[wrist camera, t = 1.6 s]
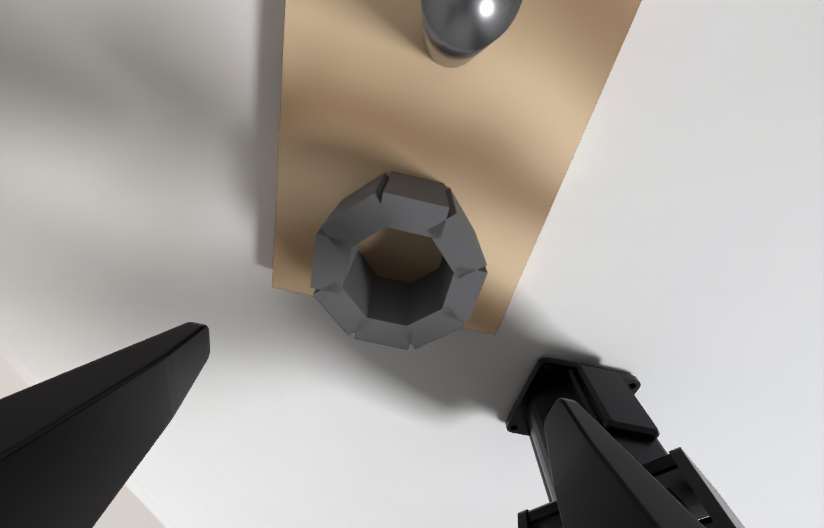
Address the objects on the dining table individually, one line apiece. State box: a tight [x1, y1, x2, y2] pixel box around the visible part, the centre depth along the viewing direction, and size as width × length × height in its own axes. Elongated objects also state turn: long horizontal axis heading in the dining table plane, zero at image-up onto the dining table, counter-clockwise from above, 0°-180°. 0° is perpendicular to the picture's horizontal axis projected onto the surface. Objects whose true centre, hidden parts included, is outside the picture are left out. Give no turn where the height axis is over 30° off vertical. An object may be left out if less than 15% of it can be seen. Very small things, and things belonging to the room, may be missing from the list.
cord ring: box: [310, 171, 488, 350], centre depth 14 cm, size 6×6×4 cm
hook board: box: [272, 0, 642, 335], centre depth 15 cm, size 16×12×2 cm
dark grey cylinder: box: [421, 0, 522, 68], centre depth 10 cm, size 2×2×6 cm
